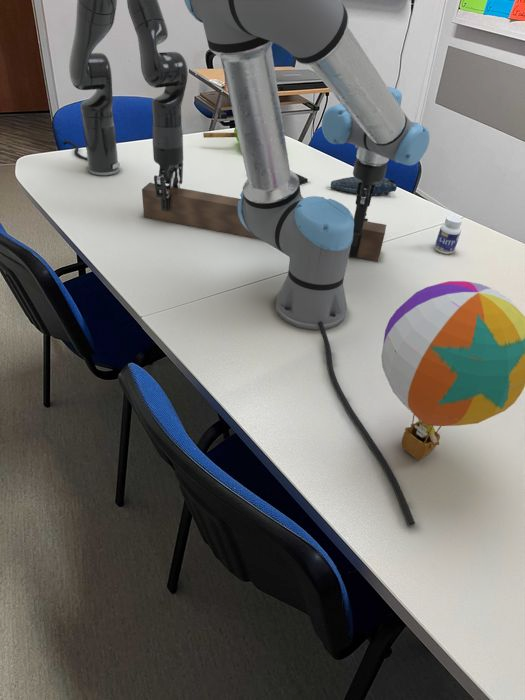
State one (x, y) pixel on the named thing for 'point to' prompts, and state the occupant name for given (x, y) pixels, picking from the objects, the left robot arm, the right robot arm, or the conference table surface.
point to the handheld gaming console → (301, 179)
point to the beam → (231, 216)
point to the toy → (453, 358)
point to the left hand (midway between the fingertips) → (170, 205)
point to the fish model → (352, 182)
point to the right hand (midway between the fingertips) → (353, 250)
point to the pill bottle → (448, 235)
